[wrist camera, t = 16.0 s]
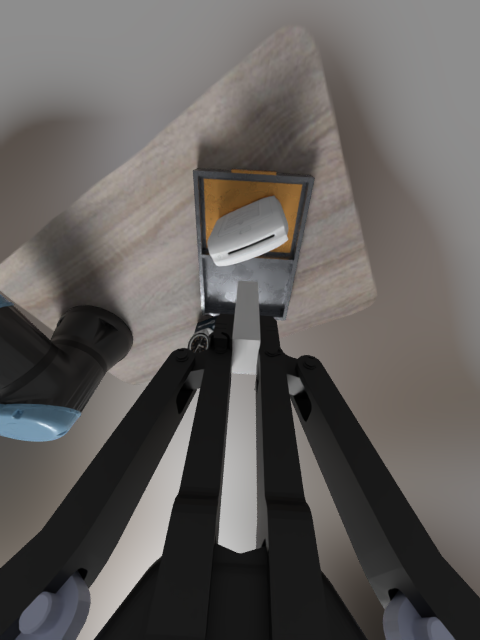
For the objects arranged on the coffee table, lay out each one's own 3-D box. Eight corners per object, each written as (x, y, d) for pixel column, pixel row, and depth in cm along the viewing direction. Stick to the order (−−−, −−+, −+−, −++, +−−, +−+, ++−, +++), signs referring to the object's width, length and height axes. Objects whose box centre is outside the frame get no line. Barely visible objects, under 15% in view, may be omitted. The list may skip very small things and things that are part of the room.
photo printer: (224, 243, 39) (215, 278, 29) (213, 218, 37) (198, 246, 27) (285, 219, 36) (297, 248, 27) (276, 190, 34) (286, 210, 24)
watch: (214, 307, 48) (206, 344, 40) (232, 335, 53) (228, 374, 44) (191, 317, 50) (179, 354, 41) (211, 342, 54) (203, 381, 46)
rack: (204, 306, 48) (201, 315, 46) (197, 165, 34) (192, 167, 31) (283, 311, 48) (285, 320, 46) (310, 172, 34) (315, 175, 31)
